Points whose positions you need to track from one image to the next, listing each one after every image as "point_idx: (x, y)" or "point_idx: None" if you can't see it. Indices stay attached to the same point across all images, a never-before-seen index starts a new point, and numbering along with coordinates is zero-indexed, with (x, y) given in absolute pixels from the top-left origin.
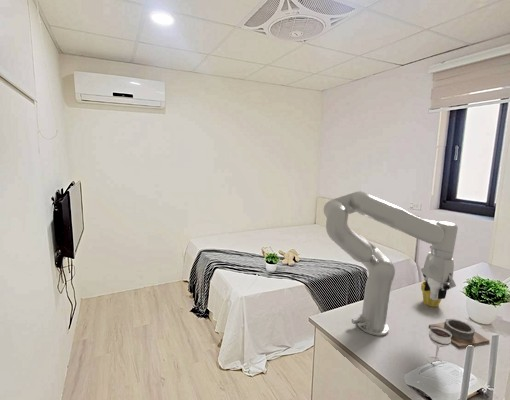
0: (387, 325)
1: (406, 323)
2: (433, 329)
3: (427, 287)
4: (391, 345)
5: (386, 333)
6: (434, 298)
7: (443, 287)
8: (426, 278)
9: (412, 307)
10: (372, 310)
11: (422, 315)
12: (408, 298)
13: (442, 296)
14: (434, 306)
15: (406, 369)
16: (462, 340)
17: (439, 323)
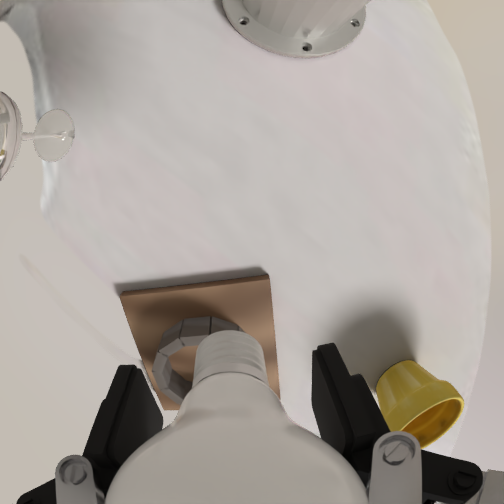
0: (282, 50)
1: (307, 181)
2: (2, 129)
3: (324, 393)
4: (156, 9)
5: (228, 18)
6: (199, 353)
7: (58, 491)
8: (395, 479)
9: (404, 300)
10: None
11: (349, 305)
12: (447, 322)
13: (102, 404)
14: (379, 380)
15: (45, 18)
16: (154, 334)
17: (272, 330)
